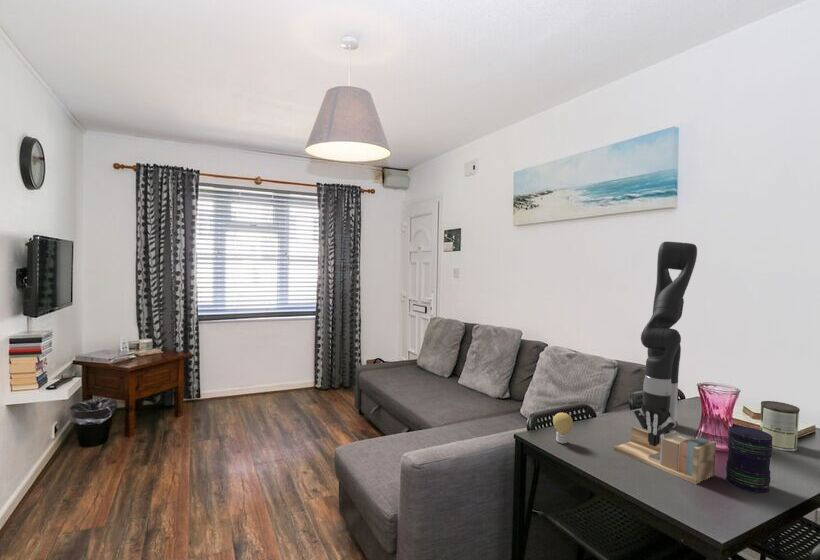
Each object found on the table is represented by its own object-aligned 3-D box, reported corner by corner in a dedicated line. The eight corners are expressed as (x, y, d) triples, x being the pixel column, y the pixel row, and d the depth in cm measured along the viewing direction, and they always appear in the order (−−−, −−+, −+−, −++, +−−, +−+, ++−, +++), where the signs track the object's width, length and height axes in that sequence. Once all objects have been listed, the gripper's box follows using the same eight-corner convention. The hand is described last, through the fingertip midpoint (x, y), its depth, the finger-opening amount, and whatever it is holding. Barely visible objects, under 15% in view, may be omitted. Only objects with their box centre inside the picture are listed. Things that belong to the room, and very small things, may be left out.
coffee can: (751, 437, 156) (754, 399, 155) (783, 440, 154) (786, 402, 154) (770, 449, 146) (773, 408, 145) (805, 452, 144) (807, 411, 144)
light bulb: (567, 447, 142) (568, 417, 141) (548, 441, 146) (550, 412, 146) (574, 442, 146) (576, 413, 146) (556, 436, 151) (558, 408, 150)
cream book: (674, 460, 133) (675, 434, 132) (689, 466, 129) (691, 439, 129) (661, 464, 129) (662, 438, 129) (676, 471, 125) (678, 444, 125)
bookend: (660, 453, 137) (661, 426, 136) (674, 459, 133) (676, 430, 133) (648, 458, 133) (649, 429, 133) (662, 464, 129) (664, 434, 129)
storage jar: (730, 472, 128) (733, 423, 127) (772, 486, 120) (776, 433, 120) (721, 483, 121) (724, 431, 121) (765, 498, 114) (769, 442, 113)
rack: (632, 443, 147) (634, 413, 146) (714, 475, 125) (716, 440, 125) (613, 449, 141) (615, 418, 141) (695, 484, 120) (697, 447, 120)
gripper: (685, 395, 130) (681, 451, 131) (643, 383, 142) (639, 435, 142) (672, 398, 126) (668, 456, 127) (629, 386, 138) (626, 439, 139)
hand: (653, 445), depth 135 cm, fingers closed
